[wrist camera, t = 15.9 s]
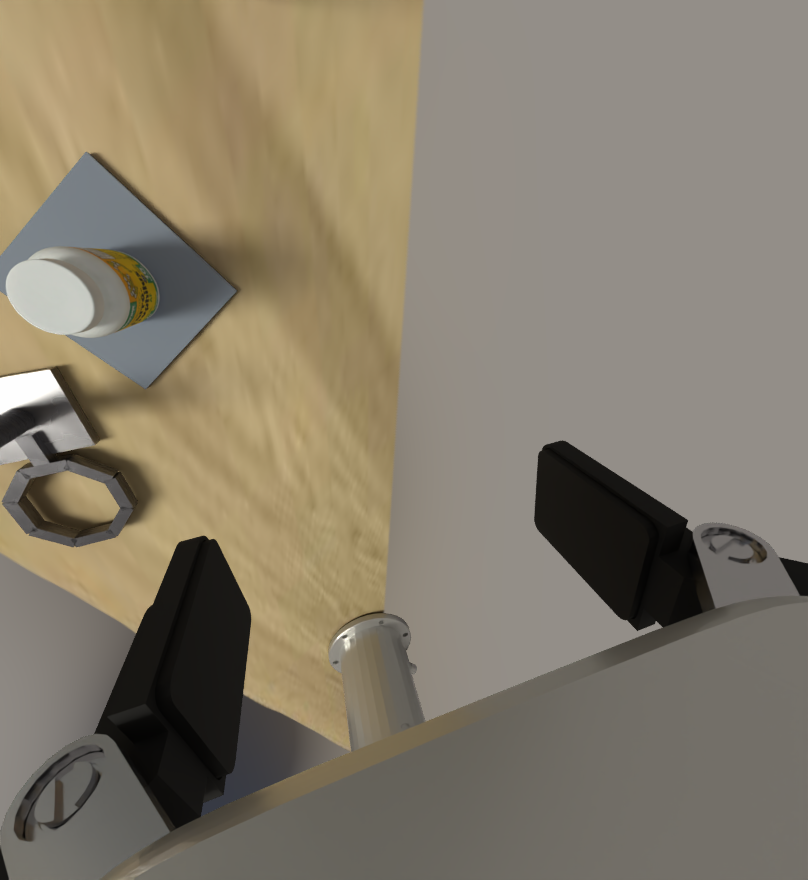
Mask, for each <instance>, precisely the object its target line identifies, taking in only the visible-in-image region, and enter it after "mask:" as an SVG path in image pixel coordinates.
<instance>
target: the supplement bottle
mask: <svg viewBox="0 0 808 880" xmlns="http://www.w3.org/2000/svg"><path fill="white" fill-rule="evenodd" d="M6 292H7V296H8V298H9V300H10V302H11V304H12V306H13V307H14V309H15V310H16V311H17V312H18V313H19V315H21V316H22V317H23V318H24V319H25V320H26V321H28V322H29V323H30V324H32V325H34V326H35V327H37V328H39V329H41V330H44V331H46V332H50V333H54V334H60V335H74V336H79V337H85V338H97V337H103V336H107V335H110V334H112V333H115V332H118V331H120V330H123V329H125V328H128V327H130V326H133V325H135V324H138V323H140V322H143V321H145V320H146V319H148V318H149V317H151V316H152V315H153V314H154V313H155V312H156V310H157V308H158V305H159V300H160V295H159V288H158V285H157V283H156V281H155V279H154V278H153V276H152V275H151V273H150V272H149V271H148V269H147V268H146V267H145V266H144V265H143V264H142V263H141V262H140V261H138V260H137V259H135V258H134V257H132V256H130V255H128V254H126V253H123V252H120V251H116V250H109V249H95V248H80V247H64V246H59V247H49V248H45V249H42V250H40V251H38V252H36V253H35V254H33V255H32V256H31V257H30V258H29V259H28V260H26V261H23V262H20V263H18V264H17V265H15V266H14V267H13V268H12V269H11V270H10V272H9V273H8V276H7V279H6Z"/></svg>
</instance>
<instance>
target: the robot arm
mask: <svg viewBox="0 0 808 880" xmlns="http://www.w3.org/2000/svg"><path fill="white" fill-rule="evenodd" d="M534 521H535V525H536V527H537V529H538V530H539V532H540V533H541V534H542V535H543V536H544V537H545V538H546V539H547V540H548V541H549V542H550V544H551V545H552V546H553V547H554V548H555V549H556V550H557V551H558V552H559V553H560V554H561V555H562V556H563V558H564V559H565V560H566V561H567V562H568V563H569V564H570V565H571V566H572V567H573V568H574V569H575V570H576V572H577V573H578V574H579V575H580V576H581V577H582V578H583V579H584V580H585V581H586V582H587V583H588V584H589V586H590V587H591V588H592V589H593V590H594V591H595V592H596V593H597V594H598V595H599V596H600V597H601V599H602V600H603V601H604V602H605V603H606V604H607V605H608V606H609V607H610V608H611V609H612V610H613V611H614V613H615V614H616V615H617V616H618V617H620V618H621V619H623V620H628V622H629V623H630V624H631V625H632V626H633V627H634V628H635V629H636V630H637V631H638V630H641V629H643V628H646V627H648V626H651V625H653V624H655V621H657V622H658V623H659V624H660V625H661V626H662V627H663V628H661V629H658V630H655V631H653V632H650V633H647V634H645V635H642V636H640V637H638V638H635V639H632V640H630V641H627V642H625V643H622V644H620V645H617V646H615V647H612V648H609V649H607V650H604V651H602V652H599V653H597V654H594V655H592V656H589V657H587V658H584V659H581V660H579V661H576V662H574V663H572V664H569V665H566V666H564V667H561V668H559V669H556V670H554V671H551V672H549V673H546V674H544V675H541V676H538V677H536V678H534V679H531V680H528V681H526V682H524V683H521V684H519V685H516V686H513V687H511V688H508V689H506V690H503V691H501V692H498V693H496V694H493V695H491V696H488V697H486V698H483V699H481V700H478V701H476V702H473V703H471V704H468V705H466V706H463V707H461V708H459V709H456V710H454V711H451V712H449V713H446V714H444V715H441V716H439V717H436V718H434V719H431V720H429V721H426V722H425V718H424V715H423V711H422V708H421V705H420V701H419V698H418V694H417V691H416V688H415V684H414V681H413V677H412V674H415V673H416V670H417V667H416V665H415V664H412V663H410V662H409V660H408V656H407V653H406V650H407V648H408V646H409V644H410V639H411V636H410V631H409V628H408V625H407V624H406V622H405V621H404V620H403V619H402V618H400V617H398V616H395V615H392V614H386V613H377V614H370V615H366V616H363V617H360V618H358V619H355V620H353V621H351V622H350V623H348V624H346V625H345V626H344V627H343V628H341V629H340V630H339V631H338V632H337V633H336V634H335V636H334V637H333V639H332V640H331V642H330V645H329V650H328V654H329V661H330V664H331V665H332V667H333V668H334V669H335V670H337V671H338V672H340V673H342V680H343V688H344V697H345V705H346V713H347V721H348V729H349V737H350V746H351V752H350V753H348V754H345V755H343V756H340V757H338V758H335V759H333V760H330V761H328V762H325V763H323V764H320V765H318V766H315V767H313V768H311V769H308V770H306V771H304V772H301V773H299V774H297V775H294V776H292V777H290V778H287V779H285V780H283V781H280V782H278V783H276V784H273V785H271V786H269V787H266V788H264V789H262V790H259V791H257V792H254V793H252V794H250V795H247V796H245V797H243V798H241V799H238V800H236V801H233V802H231V803H229V804H227V805H225V806H222V807H220V808H218V809H216V810H214V811H212V812H210V813H208V814H206V815H204V816H202V817H201V812H202V806H203V803H204V802H207V801H209V800H212V799H214V798H217V797H219V796H222V795H223V794H224V786H225V779H226V775H227V774H230V773H232V771H233V769H234V766H235V760H236V751H237V742H238V733H239V724H240V715H241V707H242V698H243V689H244V680H245V671H246V662H247V654H248V645H249V636H250V627H251V613H250V609H249V606H248V604H247V602H246V600H245V598H244V596H243V594H242V592H241V590H240V588H239V586H238V584H237V582H236V579H235V577H234V575H233V573H232V571H231V569H230V567H229V565H228V563H227V561H226V559H225V557H224V555H223V553H222V551H221V549H220V547H219V545H218V543H217V541H216V540H215V539H211V540H209V539H208V538H207V537H206V536H200V537H196V538H193V539H189V540H185V541H181V542H179V543H178V545H177V547H176V549H175V551H174V554H173V556H172V559H171V561H170V564H169V566H168V569H167V571H166V574H165V576H164V579H163V581H162V583H161V586H160V588H159V591H158V593H157V596H156V598H155V601H154V603H153V605H152V606H150V607H149V608H148V609H147V611H146V613H145V614H144V617H143V619H142V621H141V624H140V626H139V628H138V631H137V633H136V636H135V638H134V640H133V643H132V645H131V648H130V650H129V652H128V655H127V657H126V659H125V662H124V664H123V667H122V669H121V671H120V674H119V676H118V678H117V681H116V683H115V686H114V688H113V690H112V693H111V695H110V698H109V700H108V702H107V705H106V707H105V710H104V712H103V714H102V717H101V719H100V721H99V724H98V726H97V728H96V731H95V733H94V734H93V735H89V736H85V737H82V738H80V739H78V740H76V741H74V742H72V743H70V744H69V745H67V746H65V747H64V748H62V749H61V750H60V751H58V752H57V753H56V754H54V755H53V756H52V757H51V758H49V759H48V760H47V761H46V762H45V763H44V764H43V765H42V766H41V767H40V768H39V769H38V770H37V771H36V772H35V773H34V774H32V776H31V777H30V778H29V780H28V781H27V782H26V783H25V785H24V786H23V787H22V788H21V790H20V791H19V792H18V794H17V795H16V797H15V799H14V800H13V802H12V804H11V806H10V807H9V809H8V811H7V813H6V815H5V819H4V822H3V825H2V827H1V830H0V880H808V563H803V562H798V561H794V560H789V559H784V558H780V557H778V555H777V554H776V552H775V551H774V549H773V548H772V547H771V546H770V544H768V543H767V542H766V541H765V540H763V539H762V538H761V537H759V536H757V535H755V534H753V533H751V532H749V531H747V530H745V529H742V528H739V527H736V526H732V525H728V524H722V523H706V524H702V525H699V526H697V527H696V528H695V529H694V531H693V532H692V531H690V530H689V529H688V528H686V525H687V522H688V520H687V519H685V518H684V517H682V516H681V515H679V514H678V513H676V512H675V511H673V510H671V509H670V508H668V507H666V506H665V505H664V504H662V503H661V502H659V501H657V500H656V499H654V498H653V497H651V496H650V495H648V494H647V493H645V492H644V491H642V490H640V489H639V488H637V487H636V486H634V485H633V484H631V483H630V482H628V481H626V480H625V479H623V478H622V477H620V476H619V475H617V474H616V473H614V472H612V471H611V470H609V469H608V468H606V467H605V466H603V465H602V464H600V463H599V462H597V461H595V460H594V459H592V458H591V457H589V456H588V455H586V454H585V453H583V452H581V451H580V450H578V449H577V448H575V447H574V446H572V445H570V444H569V443H568V442H566V441H558V442H554V443H551V444H547V445H545V446H544V447H543V448H542V451H540V452H539V455H538V468H537V484H536V500H535V517H534Z"/></svg>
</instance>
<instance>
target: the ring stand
mask: <svg viewBox="0 0 808 880" xmlns="http://www.w3.org/2000/svg"><path fill="white" fill-rule="evenodd" d="M99 441H100V439H99V438H98V436H97V434H96V432H95V431H94V429H93V427H92V426H91V424H90V422H89V421H88V419H87V417H86V416H85V414H84V412H83V410H82V409H81V407H80V405H79V404H78V402H77V400H76V399H75V397H74V395H73V393H72V392H71V390H70V388H69V387H68V385H67V383H66V382H65V380H64V378H63V377H62V375H61V373H60V371H59V370H58V368H57V367H51V368H45V369H39V370H34V371H28V372H22V373H16V374H10V375H4V376H0V465H2V464H7V463H12V462H17V461H21V460H26V459H29V460H30V462H31V463H27V464H26V465H24V466H23V467H22V468H20V469H19V470H18V471H17V472H16V474H15V476H14V478H13V480H12V482H11V484H10V486H9V488H8V490H7V492H6V494H5V496H4V498H3V500H2V502H4V503H2V505H3V506H4V507H5V508H6V509H7V511H8V512H9V513H10V514H11V516H12V517H13V518H14V519H15V520H16V522H17V523H18V524H19V525H20V527H21V528H22V529H23V530H24V532H25V533H26V534H28V533H30V534H29V536H33V537H37V538H41V539H44V540H48V541H52V542H56V543H59V544H63V545H67V546H71V547H74V546H76V547H80V546H84V545H87V544H91V543H95V542H99V541H103V540H107V539H111V538H115V537H116V536H118V535H119V533H120V532H121V530H122V529H123V527H124V525H125V524H126V522H127V520H128V519H129V517H130V515H131V513H132V512H133V510H134V508H135V507H136V505H137V501H138V500H137V499H136V497H135V495H134V493H133V492H132V490H131V488H130V487H129V485H128V483H127V482H126V480H125V478H124V476H123V475H122V473H121V472H118V471H119V470H117V469H114V468H112V467H109V466H106V465H104V464H101V463H98V462H95V461H93V460H90V459H87V458H85V457H82V456H79V455H76V454H75V455H73V454H69V455H64V456H59V457H58V456H57V455H56V453H59V452H64V451H69V450H74V449H78V448H83V447H88V446H93V445H96V444H97V443H98V442H99ZM67 470H68V471H70V472H73V473H76V474H79V475H82V476H85V477H88V478H91V479H93V480H96V481H99V482H102V483H105V484H106V486H107V488H108V489H109V491H110V492H111V494H112V496H113V497H114V499H115V500H116V502H117V504H118V505H119V507H120V510H119V512H118V513H117V515H116V517H115V518H114V520H113V522H112V523H110V524H106V525H102V526H98V527H94V528H90V529H86V530H82V531H79V530H76V529H73V528H69V527H66V526H62V525H59V524H55V523H52V522H48V521H45V520H44V519H43V518H42V516H41V515H40V514H39V512H38V511H37V510H36V509H35V507H34V506H33V505H32V503H31V502H30V501H29V499H28V498H27V497H26V495H27V493H28V491H29V489H30V487H31V485H32V483H33V481H34V479H35V477H40V476H44V475H49V474H53V473H58V472H63V471H67Z"/></svg>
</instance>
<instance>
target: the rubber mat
mask: <svg viewBox="0 0 808 880" xmlns="http://www.w3.org/2000/svg"><path fill="white" fill-rule="evenodd" d="M59 246H64V247H80V248H95V249H109V250H116V251H120V252H123V253H126V254H128V255H130V256H132V257H134V258H135V259H137V260H138V261H140V262H141V263H142V264H143V265H144V266H145V267H146V268H147V269H148V271H149V272H150V273H151V275H152V276H153V278H154V279H155V281H156V283H157V285H158V288H159V295H160V300H159V305H158V308H157V310H156V312H155V313H154V314H153V315H152V316H151V317H149V318H148V319H146V320H145V321H143V322H140V323H138V324H135V325H133V326H130V327H128V328H125V329H123V330H120V331H118V332H115V333H112V334H110V335H107V336H103V337H97V338H85V337H79V336H74V335H66V336H67V337H69V338H70V339H72V340H73V341H75V342H76V343H78V344H79V345H81V346H82V347H84V348H85V349H87V350H88V351H90V352H91V353H93V354H94V355H96V356H97V357H98V358H100V359H101V360H103V361H104V362H106V363H107V364H109V365H110V366H112V367H113V368H115V369H116V370H118V371H119V372H121V373H122V374H124V375H125V376H127V377H128V378H130V379H131V380H133V381H134V382H136V383H137V384H139V385H140V386H141V387H143V388H144V389H146V388H148V386H149V385H150V384H151V383H152V382H153V381H154V380H155V379H156V378H157V377H158V376H159V375H160V374H161V372H162V371H163V370H164V369H165V368H166V367H167V366H168V365H169V364H170V363H171V362H172V361H173V360H174V358H175V357H176V356H177V355H178V354H179V353H180V352H181V351H182V350H183V349H184V348H185V347H186V346H187V344H188V343H189V342H190V341H191V340H192V339H193V338H194V337H195V336H196V335H197V334H198V333H199V332H200V330H201V329H202V328H203V327H204V326H205V325H206V324H207V323H208V322H209V321H210V320H211V319H212V318H213V316H214V315H215V314H216V313H217V312H218V311H219V310H220V309H221V308H222V307H223V306H224V305H225V304H226V302H227V301H228V300H229V299H230V298H231V297H232V296H233V295H234V294H235V293H236V292H237V290H236V289H235V288H234V287H233V286H232V285H231V284H229V283H228V282H227V281H226V280H225V279H224V278H223V277H222V276H221V275H220V274H219V273H218V272H217V271H215V270H214V269H213V268H212V267H211V266H210V265H209V264H208V263H207V262H206V261H205V260H204V259H203V258H201V257H200V256H199V255H198V254H197V253H196V252H195V251H194V250H193V249H192V248H191V247H190V246H189V245H187V244H186V243H185V242H184V241H183V240H182V239H181V238H180V237H179V236H178V235H177V234H176V233H175V232H173V231H172V230H171V229H170V228H169V227H168V226H167V225H166V224H165V223H164V222H163V221H162V220H161V219H159V218H158V217H157V216H156V215H155V214H154V213H153V212H152V211H151V210H150V209H149V208H148V207H147V206H145V205H144V204H143V203H142V202H141V201H140V200H139V199H138V198H137V197H136V196H135V195H134V194H133V193H131V192H130V191H129V190H128V189H127V188H126V187H125V186H124V185H123V184H122V183H121V182H120V181H119V180H117V179H116V178H115V177H114V176H113V175H112V174H111V173H110V172H109V171H108V170H107V169H106V168H105V167H103V166H102V165H101V164H100V163H99V162H98V161H97V160H96V159H95V158H94V157H93V156H92V155H91V154H89V153H88V152H85V154H84V155H83V156H82V157H81V158H80V160H79V161H78V162H77V163H76V165H75V166H74V167H73V168H72V169H71V171H70V172H69V173H68V174H67V176H66V177H65V178H64V179H63V180H62V182H61V183H60V184H59V185H58V186H57V188H56V189H55V190H54V191H53V193H52V194H51V195H50V196H49V197H48V199H47V200H46V201H45V202H44V204H43V205H42V206H41V207H40V208H39V210H38V211H37V212H36V213H35V215H34V216H33V217H32V218H31V219H30V221H29V222H28V223H27V224H26V226H25V227H24V228H23V229H22V230H21V232H20V233H19V234H18V235H17V237H16V238H15V239H14V240H13V241H12V243H11V244H10V245H9V246H8V247H7V249H6V250H5V251H4V252H3V254H2V255H1V256H0V291H1V292H2V293H4V294H5V295H7V292H6V279H7V276H8V273H9V272H10V270H11V269H12V268H13V267H14V266H15V265H17V264H18V263H20V262H23V261H26V260H28V259H29V258H30V257H31V256H32V255H33V254H35V253H36V252H38V251H40V250H42V249H45V248H49V247H59Z"/></svg>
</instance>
